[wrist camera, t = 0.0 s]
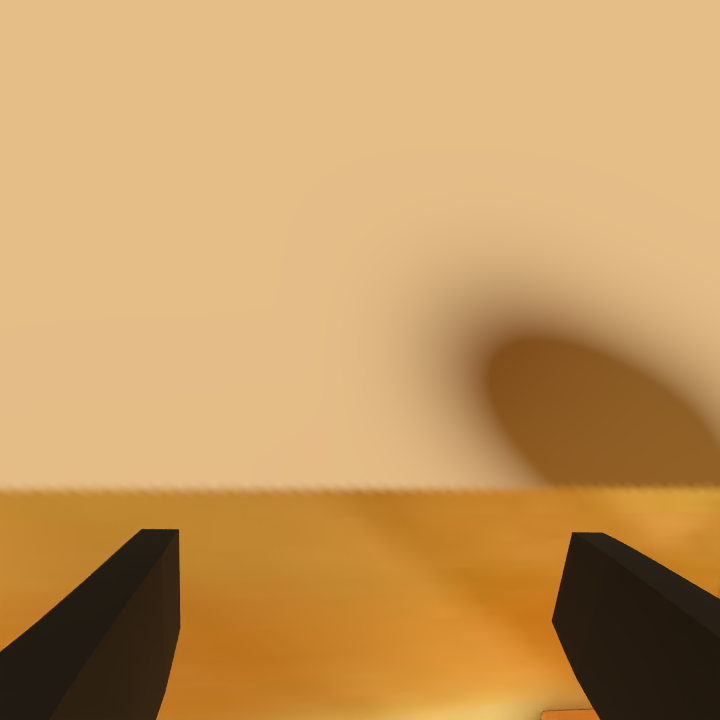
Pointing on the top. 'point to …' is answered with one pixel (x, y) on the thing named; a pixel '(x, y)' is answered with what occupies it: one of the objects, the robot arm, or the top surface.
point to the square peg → (570, 715)
